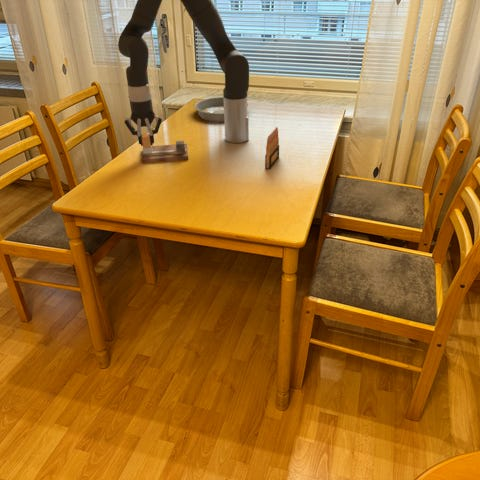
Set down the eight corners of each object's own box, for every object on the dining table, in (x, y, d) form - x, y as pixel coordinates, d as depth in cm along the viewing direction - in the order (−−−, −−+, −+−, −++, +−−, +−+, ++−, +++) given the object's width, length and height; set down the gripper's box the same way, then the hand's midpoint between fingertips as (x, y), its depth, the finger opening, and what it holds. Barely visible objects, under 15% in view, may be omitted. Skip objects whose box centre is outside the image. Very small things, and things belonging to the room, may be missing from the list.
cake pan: (258, 110, 214) (258, 101, 211) (229, 127, 197) (228, 116, 194) (215, 102, 225) (214, 93, 222) (184, 117, 208) (183, 107, 205)
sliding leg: (152, 147, 174) (150, 130, 170) (152, 155, 168) (149, 137, 164) (144, 148, 174) (142, 130, 170) (144, 155, 168) (141, 137, 164)
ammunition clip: (269, 169, 161) (270, 137, 154) (264, 168, 161) (265, 136, 155) (279, 157, 169) (280, 126, 162) (274, 157, 170) (275, 125, 163)
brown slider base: (187, 147, 179) (186, 133, 176) (188, 159, 169) (187, 145, 166) (143, 150, 177) (141, 136, 174) (141, 163, 167) (139, 149, 164)
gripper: (160, 93, 161) (166, 139, 171) (120, 95, 160) (128, 142, 170) (160, 99, 155) (166, 147, 165) (118, 102, 154) (126, 150, 164)
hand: (146, 144), depth 167 cm, fingers closed on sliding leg, 3 cm apart
